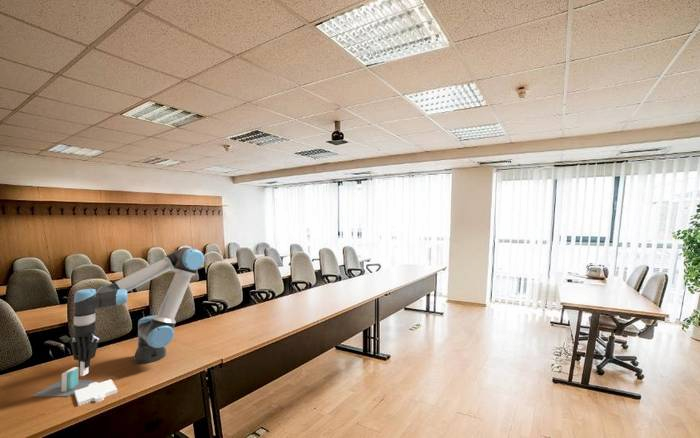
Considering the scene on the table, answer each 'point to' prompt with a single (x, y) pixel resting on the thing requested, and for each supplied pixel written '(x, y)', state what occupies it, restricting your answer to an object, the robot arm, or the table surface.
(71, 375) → the tile
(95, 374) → the table surface
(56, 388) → the mat
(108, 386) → the mounting plate
